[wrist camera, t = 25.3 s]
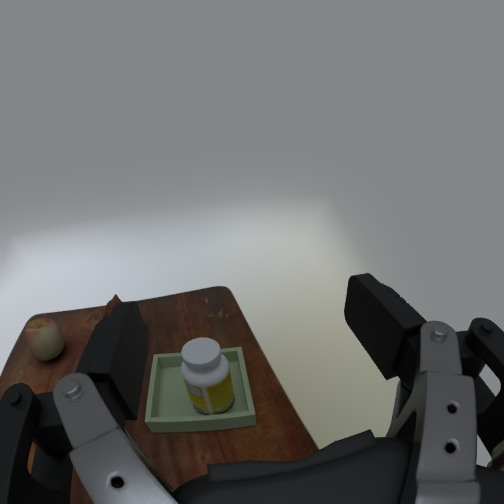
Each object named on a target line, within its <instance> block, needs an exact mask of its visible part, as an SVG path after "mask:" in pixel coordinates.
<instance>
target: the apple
mask: <svg viewBox="0 0 504 504" xmlns="http://www.w3.org/2000/svg"><path fill="white" fill-rule="evenodd" d="M25 341H26V344H27V346H28V348H29V349H30V351H31V352H32V353H33V354H34V355H35V356H36V357H37V358H38V359H40V360H43V361H47V360H50V359H53V358H55V357H56V356H58V355H59V354H60V353H61V352H62V350H63V348H64V336H63V333H62V331H61V329H60V327H59V325H58V324H57V323H56V322H55V321H54V320H52V319H50V318H38V319H35V320H33V321H31V322H29V323H28V324H27V326H26V328H25Z"/></svg>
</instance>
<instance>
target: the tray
mask: <svg viewBox="0 0 504 504" xmlns="http://www.w3.org/2000/svg"><path fill="white" fill-rule="evenodd" d="M220 350H221V354H223V355H224V356H225V357H226V359H227V360H228V363H229V367H230V373H231V379H232V385H233V390H234V396H235V403H234V406H233V408H232V409H231V410H230V412H228V413H226V414H216V415H204V416H202V415H200V414H199V413H198V412H197V411H196V410H195V409H194V407H193V405H192V402H191V399H190V397H189V394H188V391H187V388H186V386H185V383H184V380H183V377H182V374H181V365H182V362H183V358H182V354H181V353H171V354H155V355H154V358H153V364H152V370H151V377H150V384H149V391H148V399H147V407H146V416H145V423H146V424H147V426H148V427H149V429H150V430H151V432H197V431H212V430H223V429H232V428H240V427H248V426H255V425H256V414H255V409H254V405H253V400H252V395H251V391H250V386H249V381H248V377H247V372H246V367H245V362H244V357H243V352H242V347H237V348H236V347H235V348H227V349H220Z"/></svg>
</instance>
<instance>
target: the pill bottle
mask: <svg viewBox="0 0 504 504" xmlns="http://www.w3.org/2000/svg"><path fill="white" fill-rule="evenodd" d="M181 354H182V358H183V362H182V365H181V374H182V377H183V380H184V383H185V386H186V388H187V391H188V394H189V397H190V399H191V402H192V405H193V407H194V409H195V410H196V411H197V412H198V413H199V414H200V415H202V416H204V415H216V414H226V413H228V412H230V410H231V409H232V408H233V406H234V403H235V396H234V390H233V385H232V379H231V373H230V367H229V363H228V360H227V359H226V357H225V356H224V355H223V354H221V350H220V346H219V344H218V343H217V342H216V341H214V340H212V339H209V338H197V339H193V340H191V341H189V342H187V343H186V344H185V345H184V346H183V348H182V352H181Z"/></svg>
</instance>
